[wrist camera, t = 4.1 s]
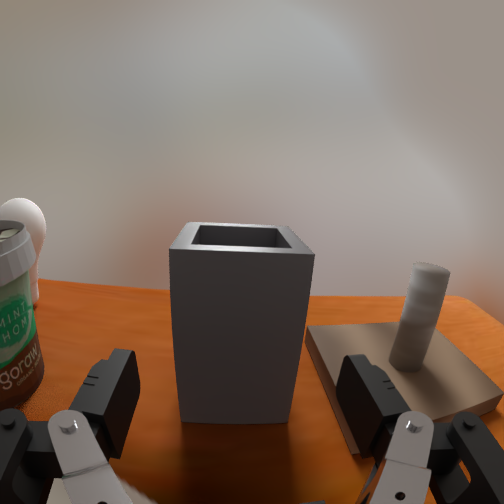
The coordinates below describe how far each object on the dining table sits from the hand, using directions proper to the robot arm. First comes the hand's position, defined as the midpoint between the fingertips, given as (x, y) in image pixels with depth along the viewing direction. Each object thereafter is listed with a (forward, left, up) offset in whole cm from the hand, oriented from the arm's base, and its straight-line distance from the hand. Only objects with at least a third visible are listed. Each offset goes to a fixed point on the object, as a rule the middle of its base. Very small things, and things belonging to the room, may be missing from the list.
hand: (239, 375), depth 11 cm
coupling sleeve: (0, +6, -6) cm, 8 cm away
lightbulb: (-21, +15, -6) cm, 26 cm away
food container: (-15, +4, -6) cm, 17 cm away
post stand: (+12, +6, -6) cm, 15 cm away
